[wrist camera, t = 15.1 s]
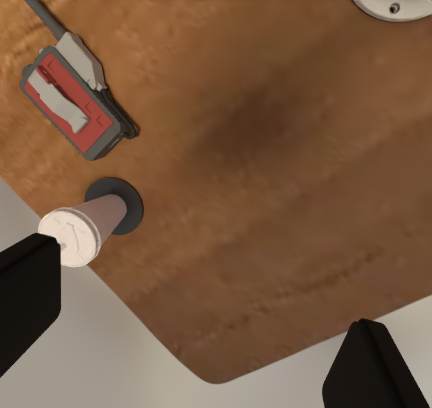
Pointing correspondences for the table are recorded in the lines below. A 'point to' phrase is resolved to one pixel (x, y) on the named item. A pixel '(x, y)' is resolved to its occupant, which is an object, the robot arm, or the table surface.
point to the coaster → (126, 194)
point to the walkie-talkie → (74, 92)
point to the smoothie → (83, 227)
